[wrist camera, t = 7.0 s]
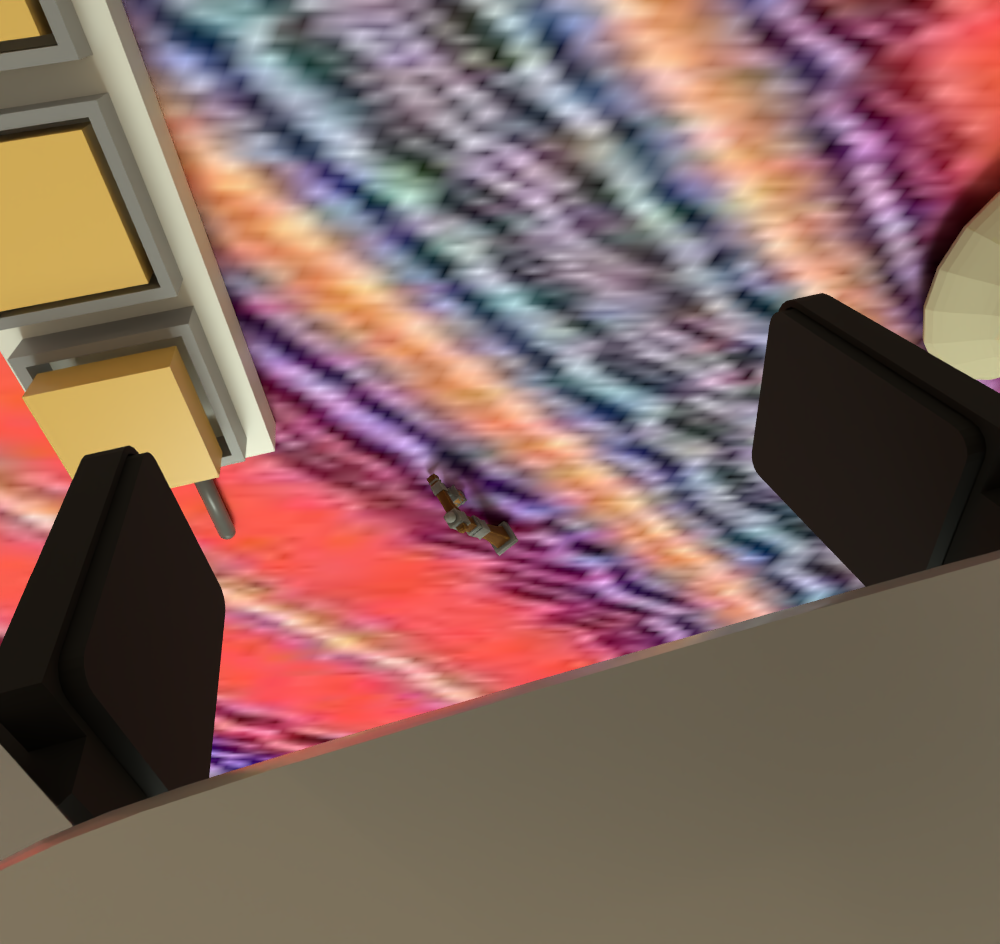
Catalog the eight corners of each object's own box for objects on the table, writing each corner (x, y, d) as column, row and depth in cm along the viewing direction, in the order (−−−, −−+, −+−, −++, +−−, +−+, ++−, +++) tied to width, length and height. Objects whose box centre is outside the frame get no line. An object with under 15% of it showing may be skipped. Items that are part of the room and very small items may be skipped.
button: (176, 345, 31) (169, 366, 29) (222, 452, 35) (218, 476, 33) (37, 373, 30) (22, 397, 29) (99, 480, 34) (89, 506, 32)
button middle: (94, 120, 27) (81, 129, 26) (155, 266, 31) (148, 283, 29) (-67, 145, 27) (-92, 157, 25) (15, 292, 30) (-2, 311, 28)
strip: (28, -255, 24) (-27, -306, 20) (308, 513, 45) (310, 567, 40) (-296, -227, 22) (-428, -275, 18) (149, 551, 43) (135, 611, 39)
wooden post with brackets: (432, 463, 44) (464, 517, 42) (490, 495, 51) (519, 542, 48) (412, 481, 44) (442, 535, 42) (471, 509, 51) (500, 558, 49)
